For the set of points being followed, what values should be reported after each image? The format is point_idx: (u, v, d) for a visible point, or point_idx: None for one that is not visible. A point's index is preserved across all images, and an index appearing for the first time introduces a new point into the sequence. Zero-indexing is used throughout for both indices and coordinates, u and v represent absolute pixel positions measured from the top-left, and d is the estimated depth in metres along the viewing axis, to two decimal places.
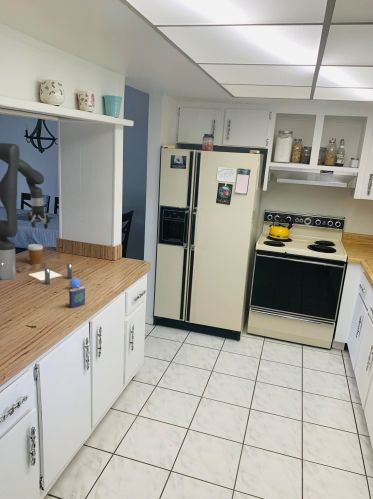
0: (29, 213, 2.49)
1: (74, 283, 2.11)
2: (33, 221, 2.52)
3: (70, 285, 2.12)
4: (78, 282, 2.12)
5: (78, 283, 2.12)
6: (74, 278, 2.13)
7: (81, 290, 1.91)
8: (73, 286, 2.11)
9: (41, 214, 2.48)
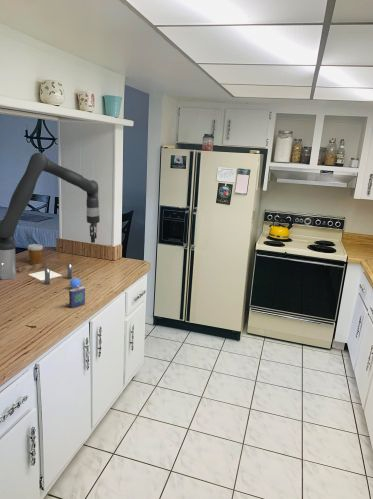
0: None
1: (74, 283, 2.11)
2: None
3: (70, 285, 2.12)
4: (78, 282, 2.12)
5: (78, 283, 2.12)
6: (74, 278, 2.13)
7: (81, 290, 1.91)
8: (73, 286, 2.11)
9: (90, 225, 2.30)
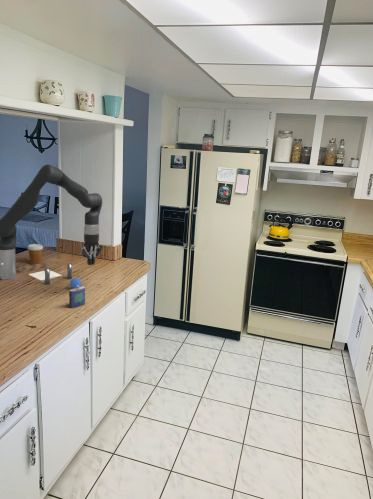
0: None
1: (74, 283, 2.11)
2: (92, 257, 2.03)
3: (70, 285, 2.12)
4: (78, 282, 2.12)
5: (78, 283, 2.12)
6: (74, 278, 2.13)
7: (81, 290, 1.91)
8: (73, 286, 2.11)
9: None
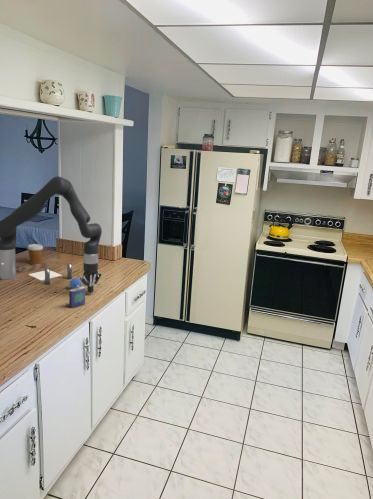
0: None
1: (74, 283, 2.11)
2: None
3: (70, 285, 2.12)
4: (78, 282, 2.12)
5: (78, 283, 2.12)
6: (74, 278, 2.13)
7: (81, 290, 1.91)
8: (73, 286, 2.11)
9: None
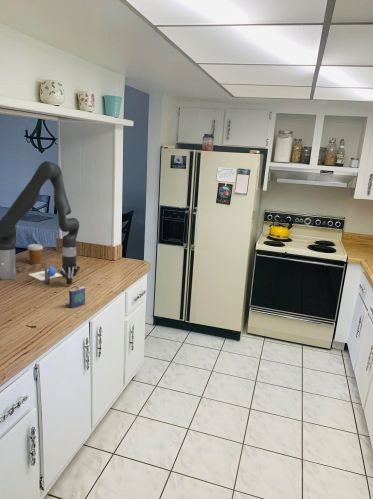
0: None
1: None
2: None
3: None
4: None
5: None
6: None
7: (81, 290, 1.91)
8: None
9: None
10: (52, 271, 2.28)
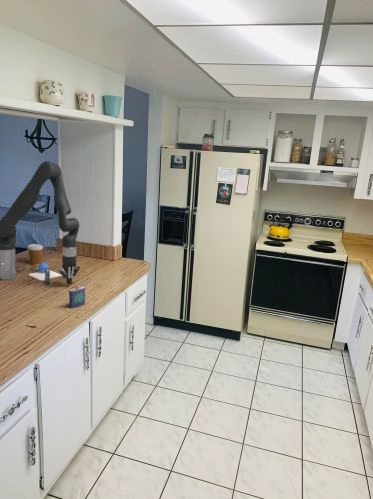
0: None
1: (41, 271, 2.34)
2: None
3: (38, 267, 2.34)
4: None
5: (44, 272, 2.35)
6: (45, 266, 2.34)
7: (81, 290, 1.91)
8: (39, 270, 2.35)
9: None
10: None
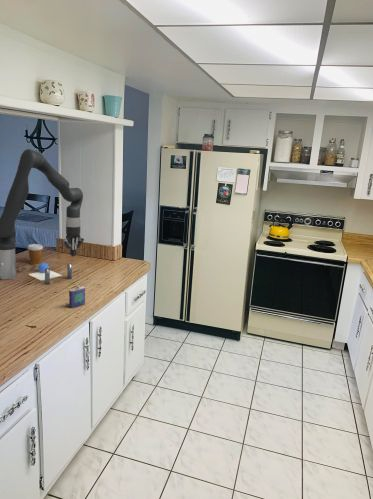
0: None
1: (41, 271, 2.34)
2: None
3: (38, 267, 2.34)
4: None
5: (44, 272, 2.35)
6: (45, 266, 2.34)
7: (81, 290, 1.91)
8: (39, 270, 2.35)
9: None
10: None
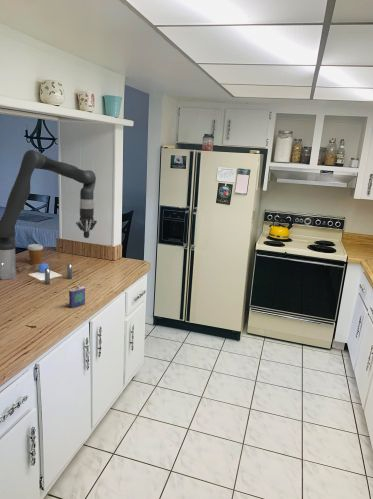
0: None
1: (41, 271, 2.34)
2: None
3: (38, 267, 2.34)
4: None
5: (44, 272, 2.35)
6: (45, 266, 2.34)
7: (81, 290, 1.91)
8: (39, 270, 2.35)
9: None
10: None
